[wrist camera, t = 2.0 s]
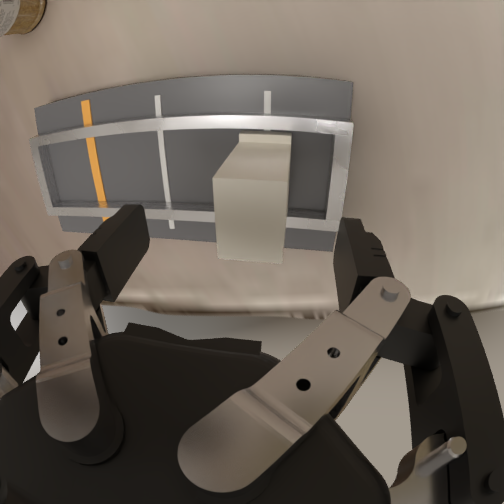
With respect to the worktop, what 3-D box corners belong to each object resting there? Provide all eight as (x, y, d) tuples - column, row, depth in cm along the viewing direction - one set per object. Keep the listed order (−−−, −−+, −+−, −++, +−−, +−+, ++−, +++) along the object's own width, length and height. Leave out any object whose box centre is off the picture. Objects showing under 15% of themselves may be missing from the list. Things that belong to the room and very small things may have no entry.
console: (347, 80, 16) (356, 83, 14) (330, 237, 23) (333, 261, 21) (49, 103, 19) (24, 112, 16) (74, 220, 26) (55, 238, 23)
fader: (291, 132, 17) (288, 169, 11) (287, 206, 20) (281, 272, 14) (242, 130, 17) (211, 166, 12) (242, 203, 20) (218, 267, 14)
